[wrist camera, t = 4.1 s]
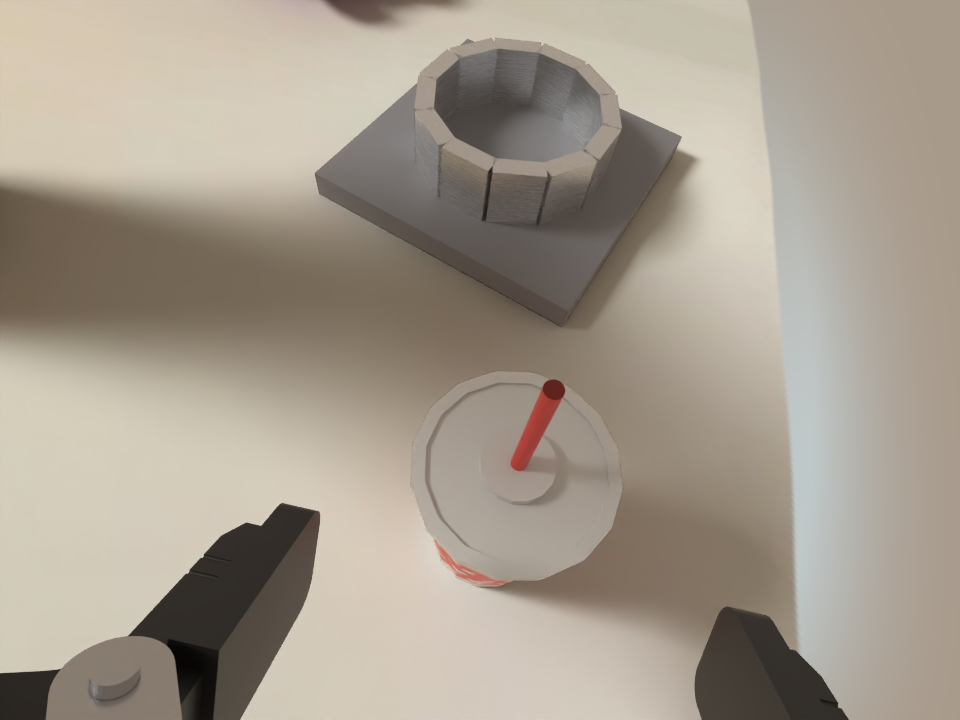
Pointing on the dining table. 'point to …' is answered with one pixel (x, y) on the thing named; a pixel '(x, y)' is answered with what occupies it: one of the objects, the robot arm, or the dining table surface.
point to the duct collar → (519, 81)
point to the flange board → (479, 244)
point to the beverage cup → (514, 478)
